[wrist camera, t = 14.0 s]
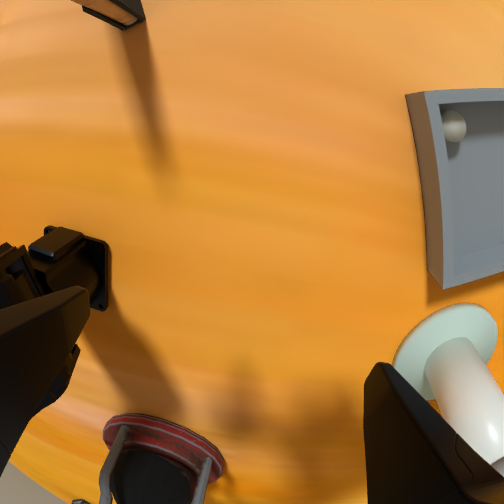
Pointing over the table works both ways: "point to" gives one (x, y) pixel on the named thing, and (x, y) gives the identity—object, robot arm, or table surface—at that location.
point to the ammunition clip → (115, 11)
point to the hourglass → (156, 462)
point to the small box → (80, 501)
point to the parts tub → (461, 180)
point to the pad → (444, 340)
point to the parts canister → (468, 398)
